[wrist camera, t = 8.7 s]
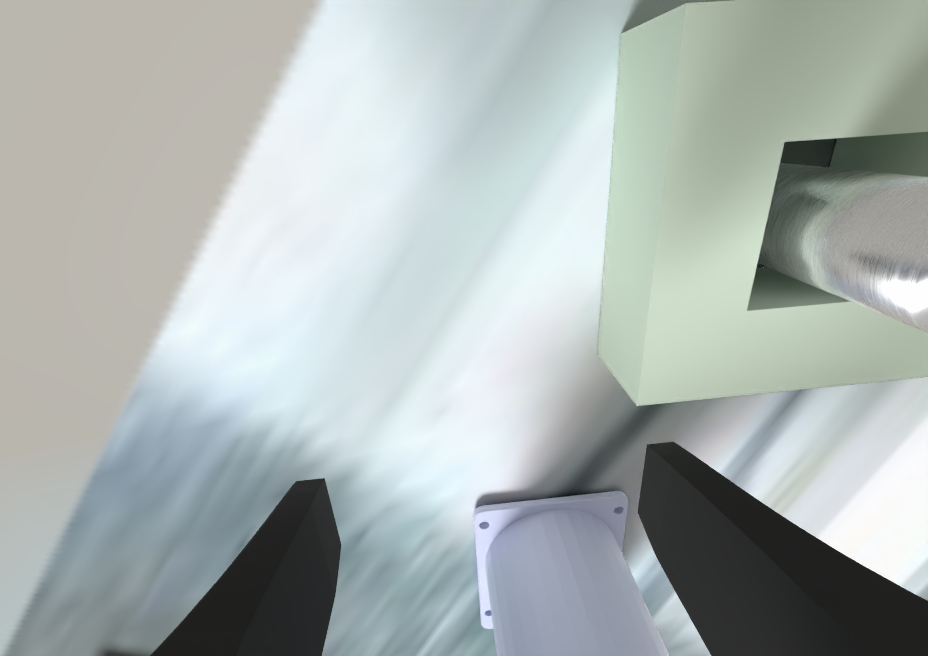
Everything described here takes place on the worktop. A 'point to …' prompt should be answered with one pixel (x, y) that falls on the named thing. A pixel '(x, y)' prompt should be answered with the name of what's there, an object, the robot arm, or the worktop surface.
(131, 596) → the worktop surface
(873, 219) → the long pin
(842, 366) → the hole block
